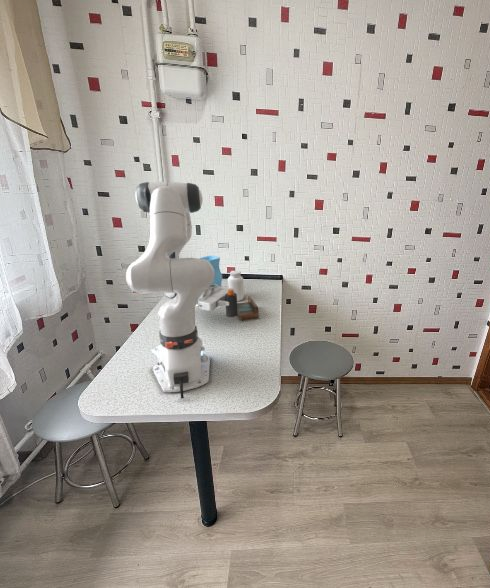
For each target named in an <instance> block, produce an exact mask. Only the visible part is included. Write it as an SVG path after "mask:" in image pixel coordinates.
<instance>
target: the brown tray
mask: <svg viewBox="0 0 490 588" xmlns="http://www.w3.org/2000/svg"><path fill="white" fill-rule="evenodd" d="M237 313H238V315H237V316H238V318H239V319H240V321H241V322H243V321H252V320H257V319H259V306H258V305H257V303H256V302H255V300H254V299H253V298H252V296H250V295H249V296H247V301H245V302H237Z"/></svg>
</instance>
